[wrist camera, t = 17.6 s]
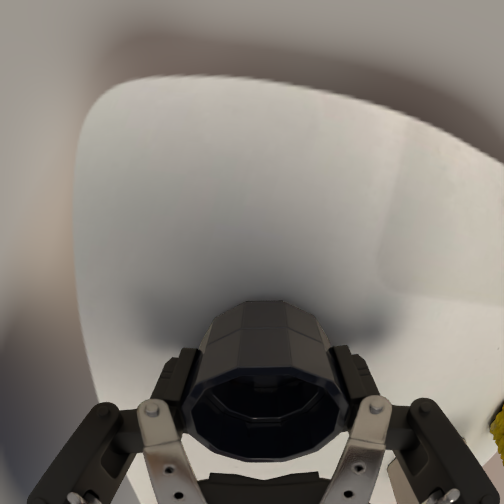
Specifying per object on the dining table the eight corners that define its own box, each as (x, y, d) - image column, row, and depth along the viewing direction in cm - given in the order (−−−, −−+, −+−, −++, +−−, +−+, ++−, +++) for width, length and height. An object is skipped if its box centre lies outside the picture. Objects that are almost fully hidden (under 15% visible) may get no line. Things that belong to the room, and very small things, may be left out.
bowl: (211, 390, 15) (197, 459, 10) (197, 296, 13) (166, 363, 8) (319, 388, 15) (333, 457, 10) (331, 293, 13) (362, 359, 8)
